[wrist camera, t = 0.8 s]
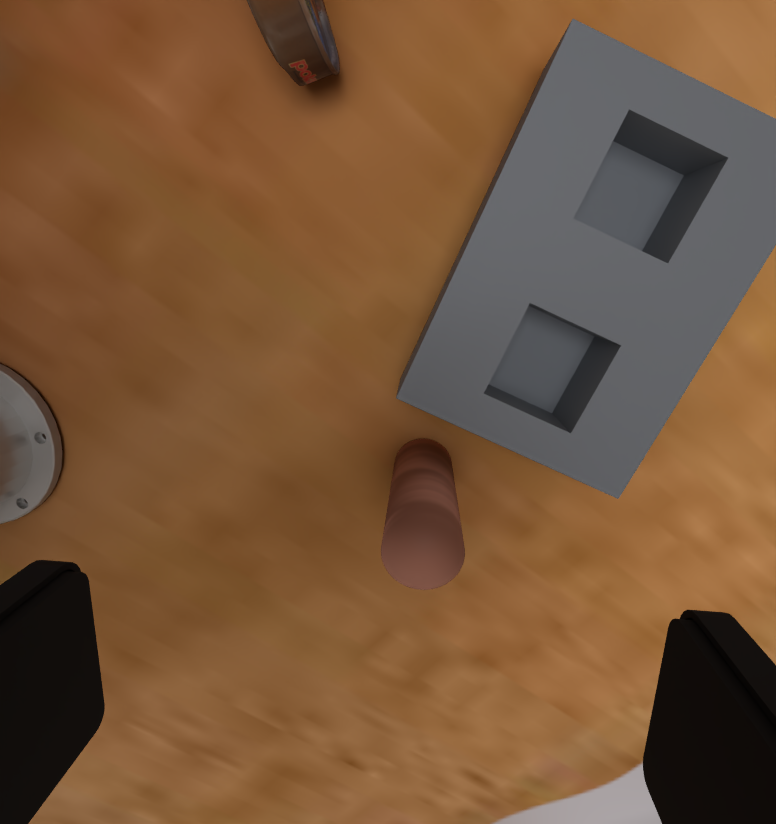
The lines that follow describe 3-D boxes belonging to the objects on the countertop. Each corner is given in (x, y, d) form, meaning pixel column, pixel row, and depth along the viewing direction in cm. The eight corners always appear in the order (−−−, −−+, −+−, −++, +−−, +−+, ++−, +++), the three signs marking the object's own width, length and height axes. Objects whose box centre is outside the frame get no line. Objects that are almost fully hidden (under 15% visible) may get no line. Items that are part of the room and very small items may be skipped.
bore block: (586, 463, 36) (618, 498, 30) (400, 378, 35) (396, 398, 29) (758, 172, 31) (835, 148, 25) (544, 68, 30) (572, 18, 24)
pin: (436, 501, 37) (442, 602, 26) (385, 478, 37) (367, 569, 26) (461, 453, 36) (479, 535, 25) (408, 429, 36) (402, 500, 25)
